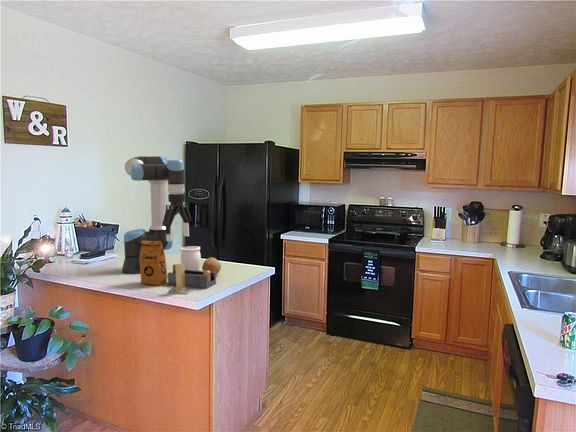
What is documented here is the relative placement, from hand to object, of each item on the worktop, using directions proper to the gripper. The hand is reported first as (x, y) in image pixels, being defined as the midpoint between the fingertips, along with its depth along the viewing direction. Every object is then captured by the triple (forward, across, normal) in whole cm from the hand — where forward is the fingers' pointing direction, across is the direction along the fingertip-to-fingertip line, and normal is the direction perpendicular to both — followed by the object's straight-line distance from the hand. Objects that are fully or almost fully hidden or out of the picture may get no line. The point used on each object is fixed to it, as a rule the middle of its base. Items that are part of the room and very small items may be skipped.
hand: (178, 238), depth 200 cm
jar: (+26, +28, +11) cm, 39 cm away
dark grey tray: (+25, +11, 0) cm, 27 cm away
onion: (+26, +29, -1) cm, 38 cm away
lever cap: (+25, -2, -2) cm, 25 cm away
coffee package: (+26, +6, +19) cm, 33 cm away
